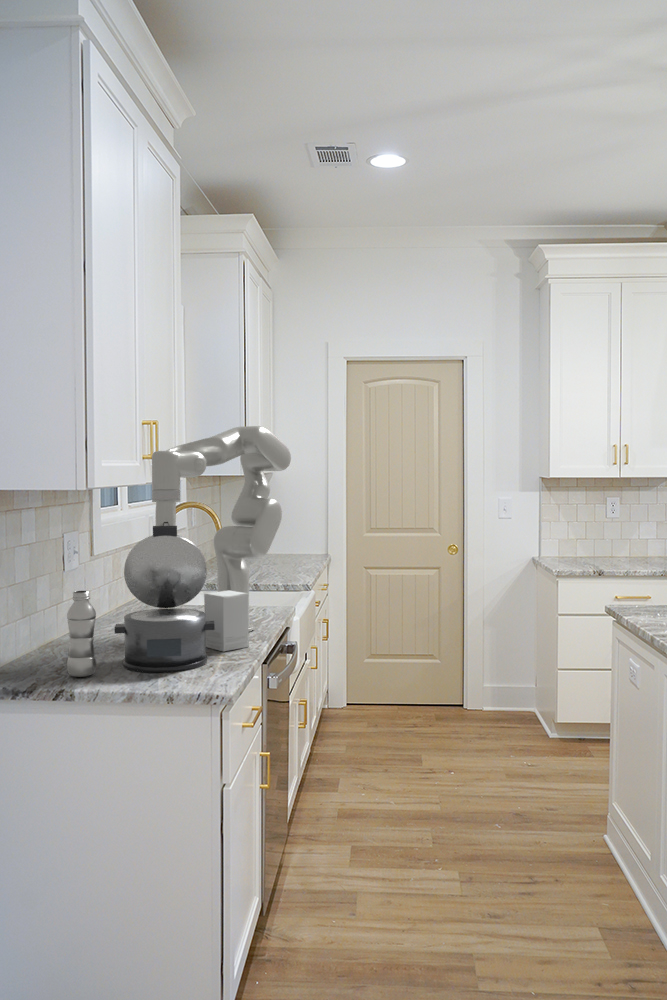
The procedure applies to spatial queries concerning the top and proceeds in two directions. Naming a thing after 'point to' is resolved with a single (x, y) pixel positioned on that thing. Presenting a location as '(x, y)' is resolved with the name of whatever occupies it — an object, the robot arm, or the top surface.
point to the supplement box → (227, 620)
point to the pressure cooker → (164, 640)
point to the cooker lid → (165, 569)
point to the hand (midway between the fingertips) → (166, 564)
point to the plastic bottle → (81, 636)
